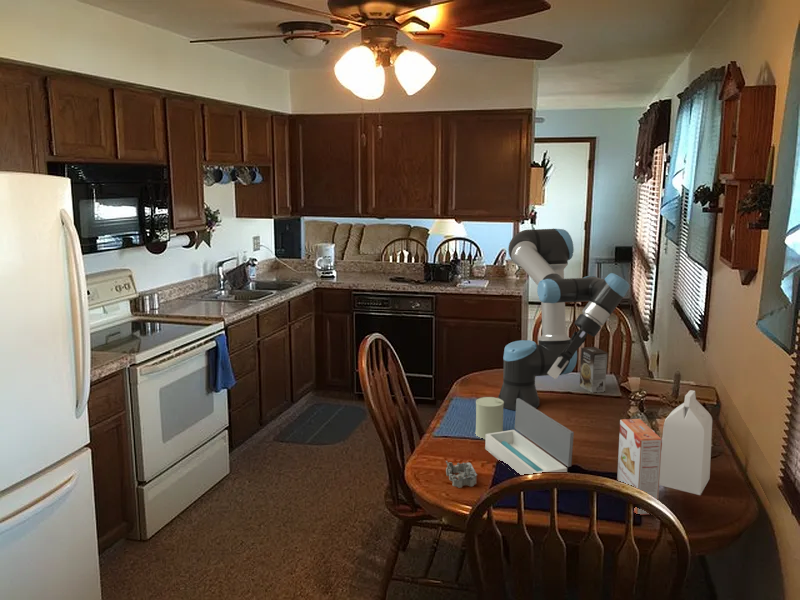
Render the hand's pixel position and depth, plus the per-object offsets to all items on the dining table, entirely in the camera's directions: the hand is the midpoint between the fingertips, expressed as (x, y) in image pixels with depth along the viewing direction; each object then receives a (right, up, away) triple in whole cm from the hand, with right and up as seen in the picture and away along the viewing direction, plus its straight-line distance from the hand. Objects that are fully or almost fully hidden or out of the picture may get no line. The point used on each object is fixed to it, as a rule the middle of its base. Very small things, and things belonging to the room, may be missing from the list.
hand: (551, 376), depth 212 cm
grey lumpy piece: (-29, -28, -15) cm, 43 cm away
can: (-17, -21, +17) cm, 32 cm away
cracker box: (+16, -30, -29) cm, 45 cm away
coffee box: (+30, -12, +61) cm, 69 cm away
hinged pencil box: (-10, -26, -7) cm, 28 cm away
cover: (-5, -15, -7) cm, 17 cm away
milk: (+33, -28, -17) cm, 47 cm away
